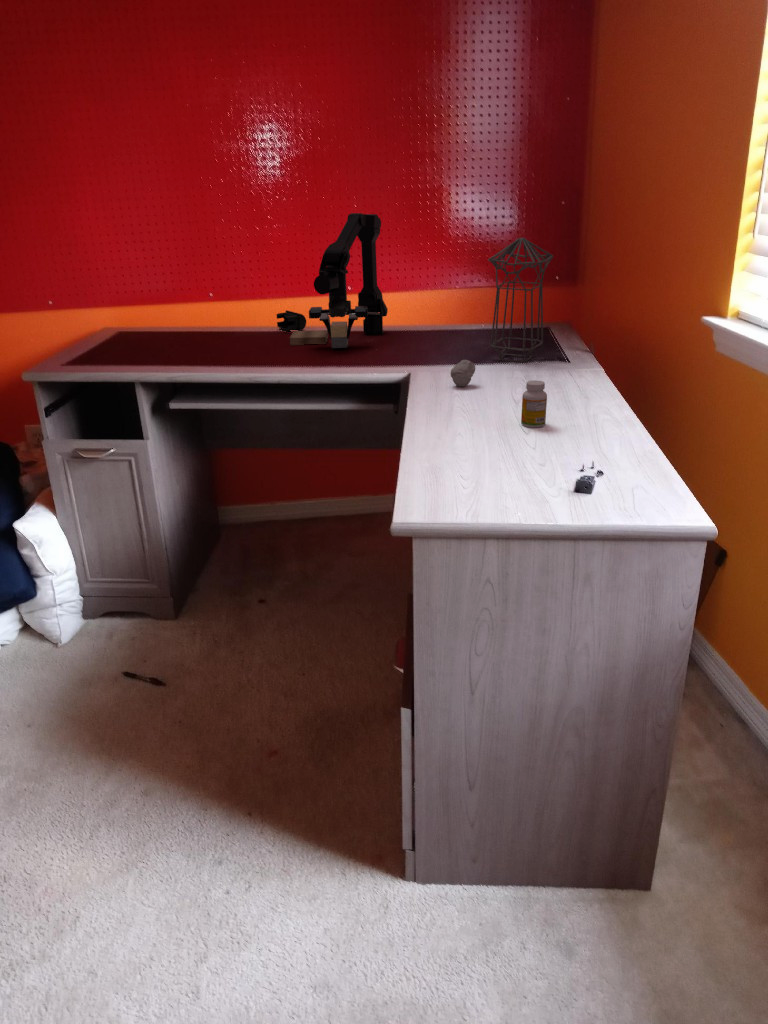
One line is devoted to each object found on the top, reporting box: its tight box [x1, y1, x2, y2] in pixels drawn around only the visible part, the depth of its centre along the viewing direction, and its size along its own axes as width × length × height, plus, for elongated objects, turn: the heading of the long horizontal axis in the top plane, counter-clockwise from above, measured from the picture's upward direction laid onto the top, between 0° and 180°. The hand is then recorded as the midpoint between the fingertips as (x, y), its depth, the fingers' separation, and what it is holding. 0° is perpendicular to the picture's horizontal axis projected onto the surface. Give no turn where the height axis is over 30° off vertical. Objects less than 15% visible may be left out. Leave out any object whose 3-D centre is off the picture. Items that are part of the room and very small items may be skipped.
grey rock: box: [450, 359, 476, 388], centre depth 208 cm, size 6×7×7 cm
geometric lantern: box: [487, 237, 554, 363], centre depth 230 cm, size 16×16×35 cm
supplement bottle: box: [520, 379, 548, 429], centre depth 175 cm, size 5×5×10 cm
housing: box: [330, 320, 349, 349], centre depth 255 cm, size 5×8×7 cm, turn 0°
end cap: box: [276, 310, 307, 332], centre depth 285 cm, size 10×7×7 cm
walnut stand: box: [289, 329, 329, 346], centre depth 268 cm, size 12×12×2 cm
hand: (339, 339), depth 256 cm, fingers closed on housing, 5 cm apart
